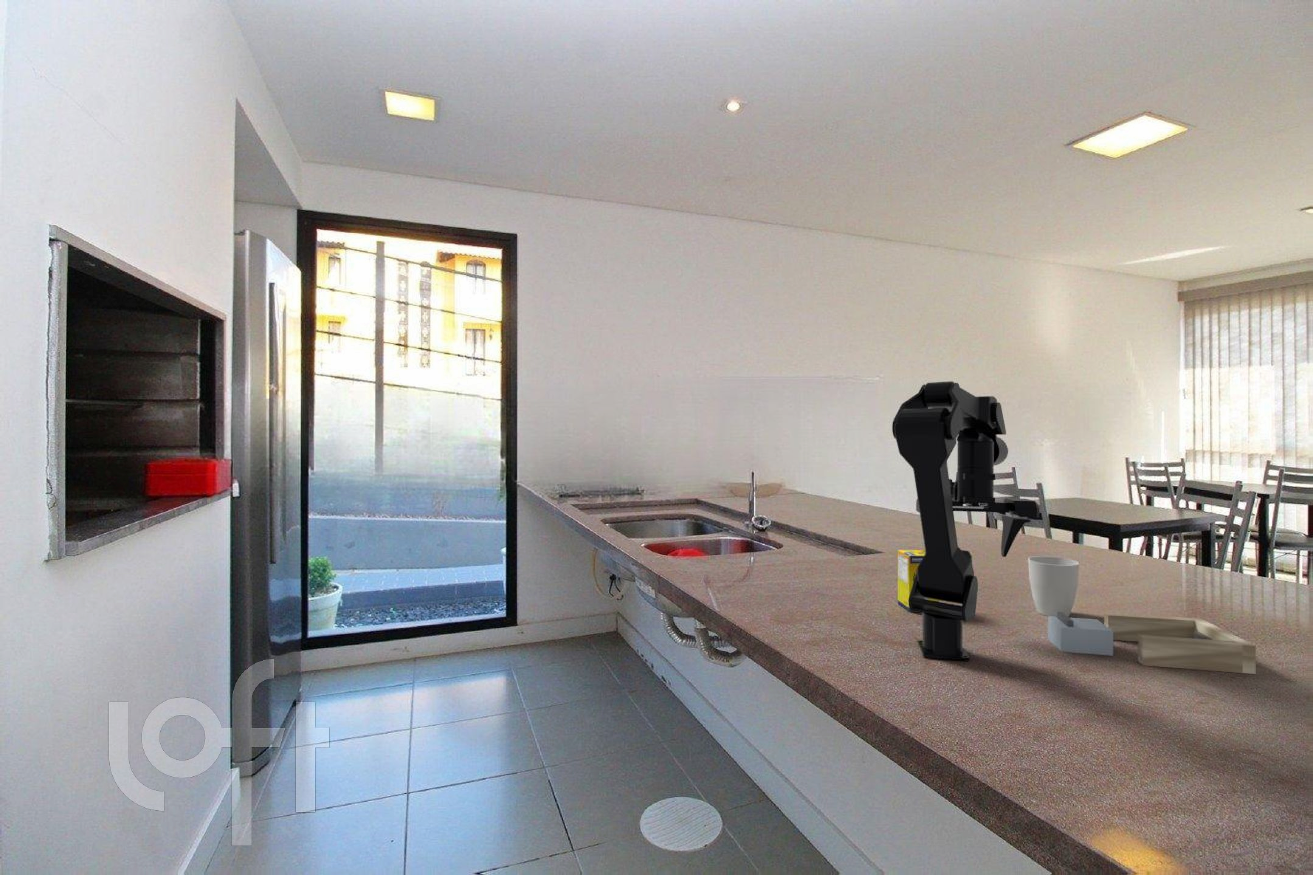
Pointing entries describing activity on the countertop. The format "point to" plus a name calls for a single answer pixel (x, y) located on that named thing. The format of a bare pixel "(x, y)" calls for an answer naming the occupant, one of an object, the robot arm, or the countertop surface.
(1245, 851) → the countertop surface
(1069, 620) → the sliding lid
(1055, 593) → the cup
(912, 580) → the supplement box
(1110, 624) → the tray
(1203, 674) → the countertop surface
